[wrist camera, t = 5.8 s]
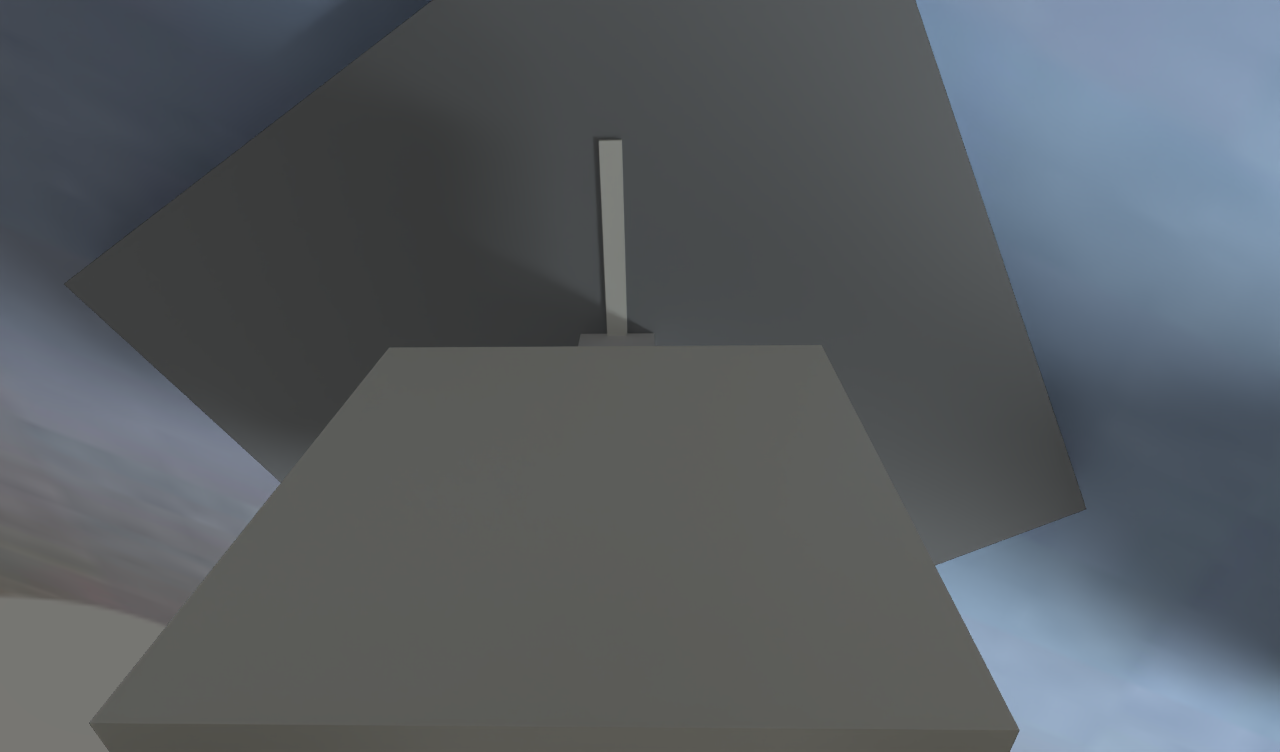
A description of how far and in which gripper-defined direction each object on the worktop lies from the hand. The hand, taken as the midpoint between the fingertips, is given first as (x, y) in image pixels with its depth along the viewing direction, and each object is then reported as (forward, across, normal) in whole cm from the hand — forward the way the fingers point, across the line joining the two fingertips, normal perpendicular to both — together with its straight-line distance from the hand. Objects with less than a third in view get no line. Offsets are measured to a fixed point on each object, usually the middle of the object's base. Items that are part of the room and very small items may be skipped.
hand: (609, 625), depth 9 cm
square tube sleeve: (+1, 0, 0) cm, 1 cm away
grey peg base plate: (+7, 0, 0) cm, 7 cm away
